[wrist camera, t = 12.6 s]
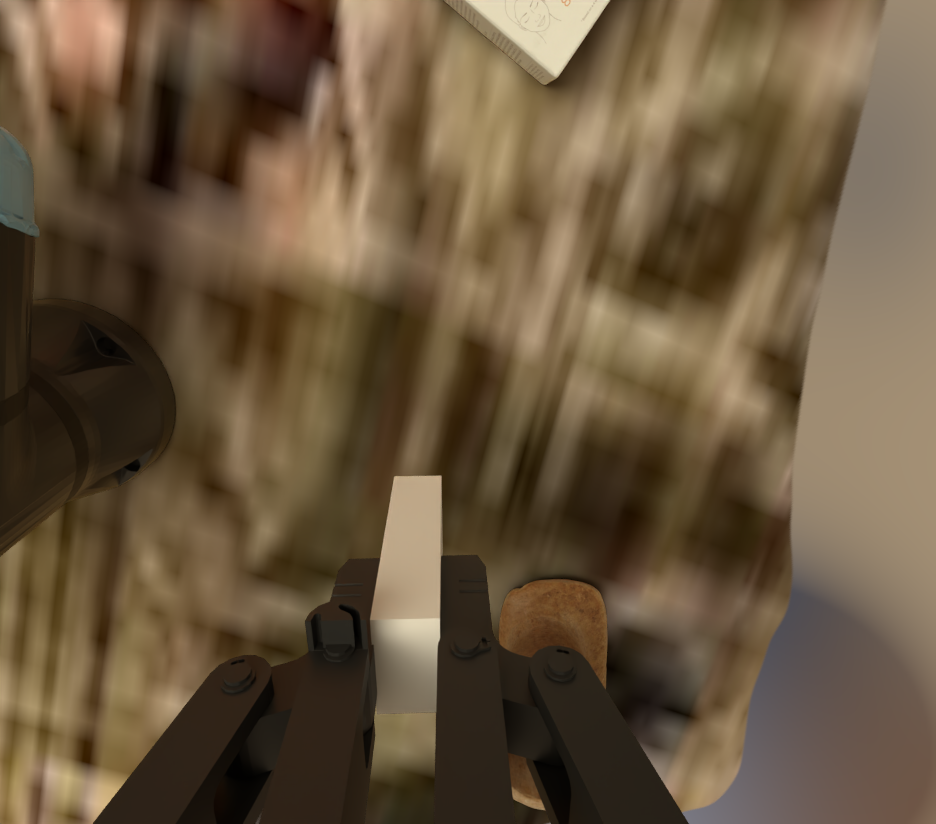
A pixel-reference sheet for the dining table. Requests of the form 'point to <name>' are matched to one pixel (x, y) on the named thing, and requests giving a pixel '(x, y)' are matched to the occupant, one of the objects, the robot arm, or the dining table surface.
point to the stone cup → (552, 642)
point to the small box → (534, 29)
